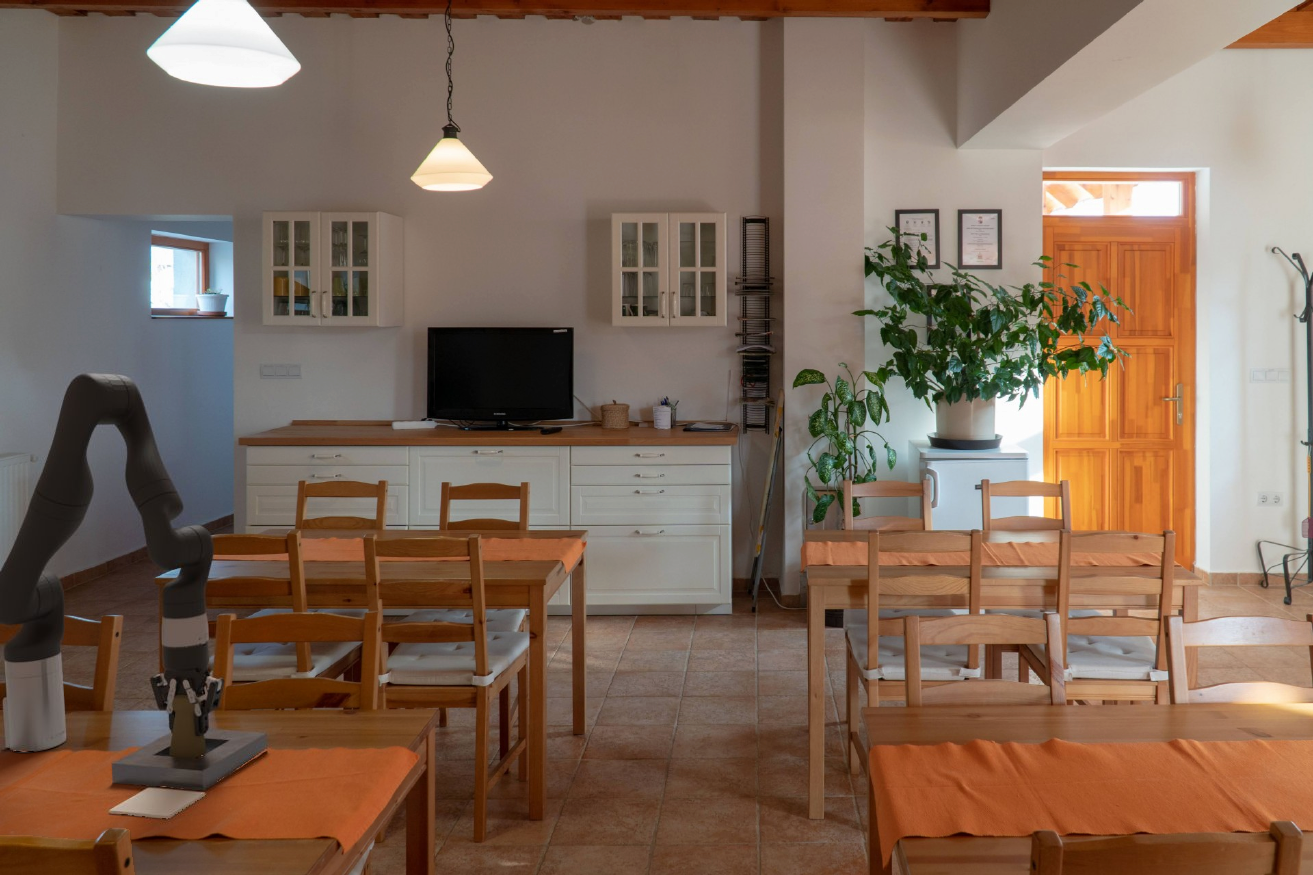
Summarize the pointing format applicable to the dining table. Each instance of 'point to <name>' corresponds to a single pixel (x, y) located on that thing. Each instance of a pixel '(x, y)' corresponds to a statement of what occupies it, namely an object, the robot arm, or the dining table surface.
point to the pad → (157, 803)
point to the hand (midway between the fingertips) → (189, 733)
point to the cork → (185, 730)
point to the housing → (189, 761)
